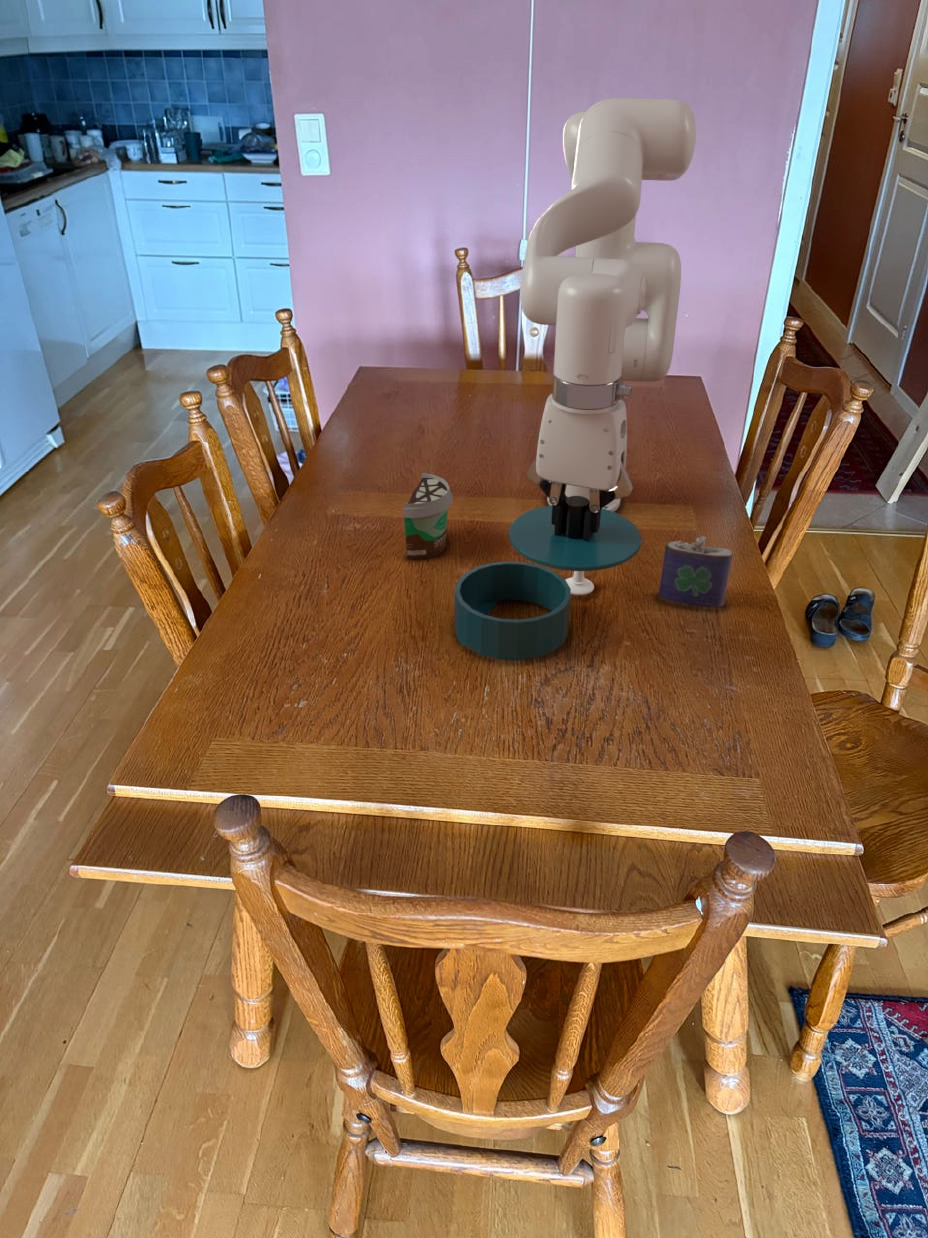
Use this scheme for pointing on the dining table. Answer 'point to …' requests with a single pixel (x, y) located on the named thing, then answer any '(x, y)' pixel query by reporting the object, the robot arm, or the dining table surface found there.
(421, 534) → the food container
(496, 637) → the pot
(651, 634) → the dining table surface
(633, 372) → the robot arm
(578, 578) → the chess piece
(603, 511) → the pot lid
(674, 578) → the flask
